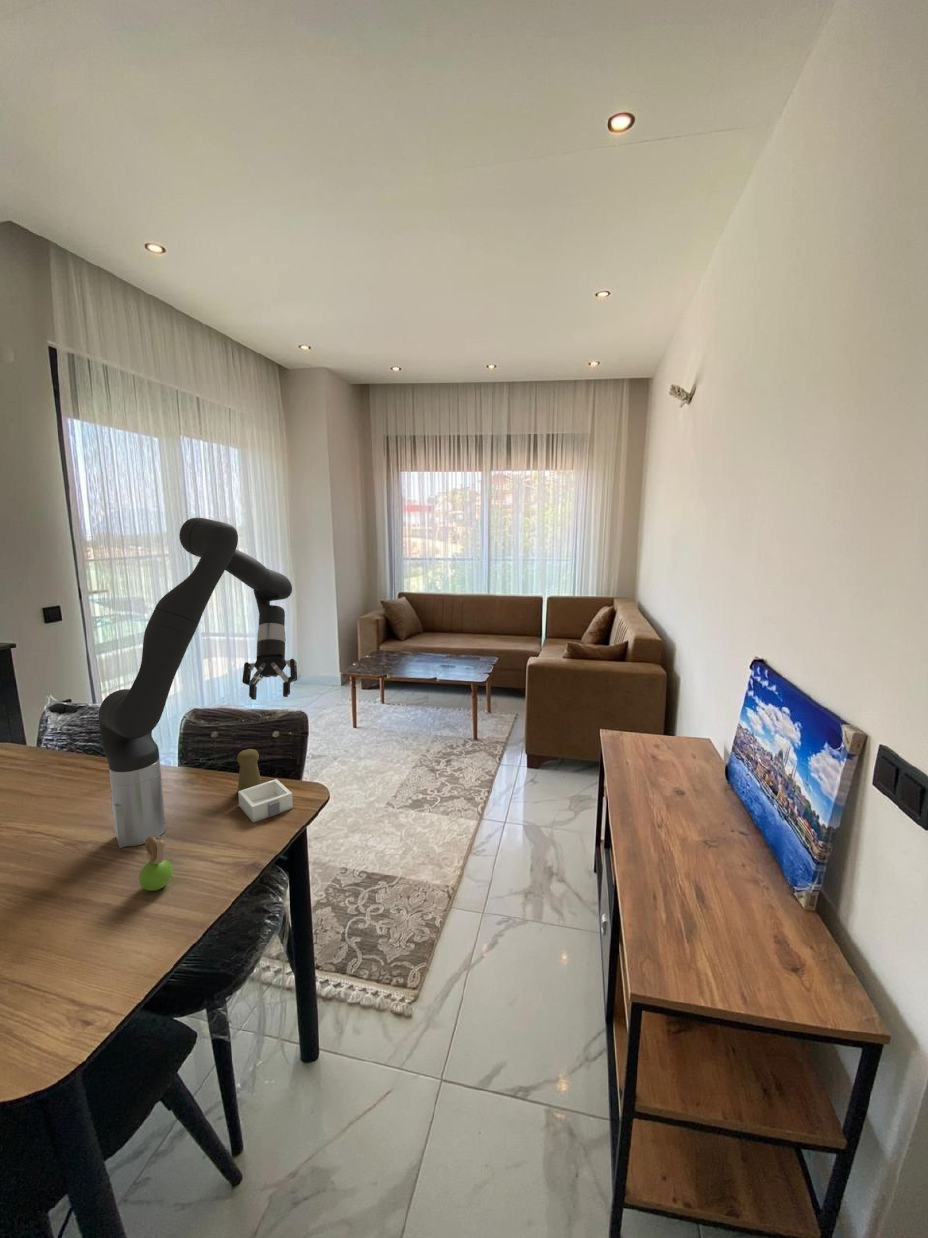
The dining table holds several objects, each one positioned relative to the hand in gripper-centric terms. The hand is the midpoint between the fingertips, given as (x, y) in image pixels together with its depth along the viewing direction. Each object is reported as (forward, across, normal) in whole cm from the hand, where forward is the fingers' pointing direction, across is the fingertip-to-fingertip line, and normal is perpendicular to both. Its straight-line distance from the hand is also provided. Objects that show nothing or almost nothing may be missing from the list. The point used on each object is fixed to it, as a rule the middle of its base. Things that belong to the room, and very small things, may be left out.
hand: (269, 698), depth 134 cm
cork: (+24, -5, +3) cm, 25 cm away
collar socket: (+28, +1, -4) cm, 29 cm away
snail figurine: (+41, -10, -29) cm, 51 cm away
